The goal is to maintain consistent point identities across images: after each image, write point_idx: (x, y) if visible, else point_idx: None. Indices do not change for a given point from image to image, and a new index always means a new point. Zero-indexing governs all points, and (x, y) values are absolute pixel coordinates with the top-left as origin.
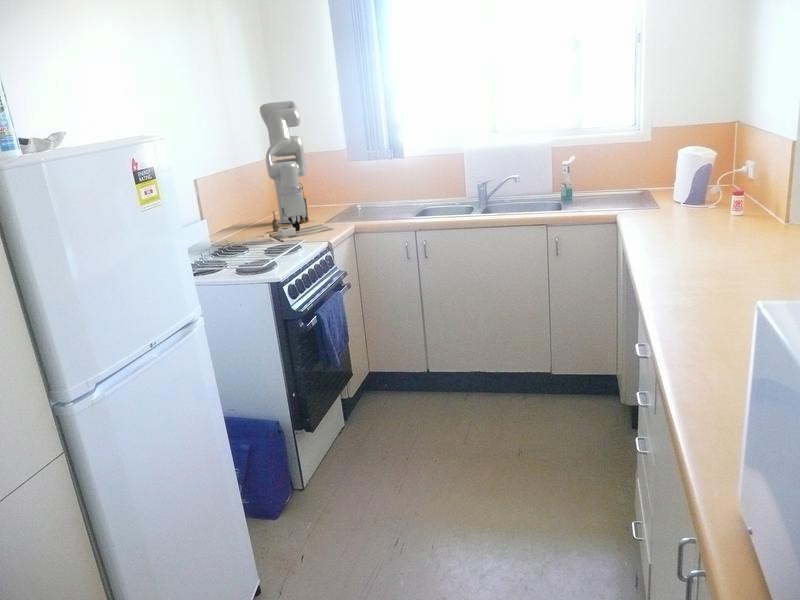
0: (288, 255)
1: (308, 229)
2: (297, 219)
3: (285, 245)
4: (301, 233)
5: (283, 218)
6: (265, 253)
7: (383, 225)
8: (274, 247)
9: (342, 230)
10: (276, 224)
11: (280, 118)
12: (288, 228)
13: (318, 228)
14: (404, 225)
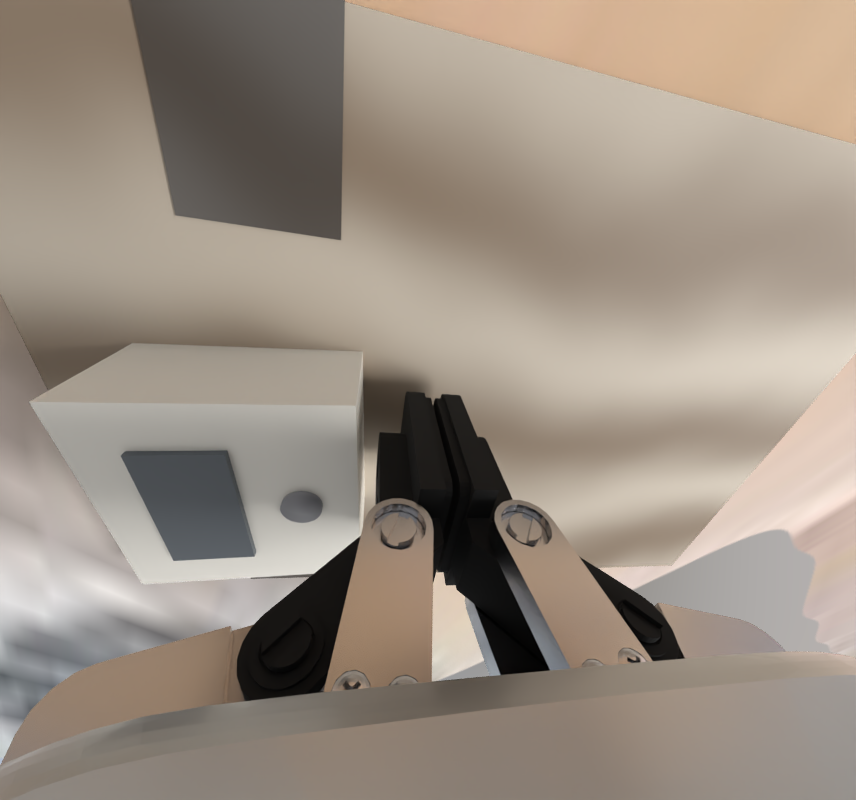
0: None
1: (624, 368)
2: (480, 646)
3: (179, 639)
4: None
5: (24, 753)
6: (4, 714)
7: (849, 588)
8: (76, 643)
9: (711, 539)
10: None
11: None
12: (264, 531)
13: (695, 423)
14: (827, 637)
